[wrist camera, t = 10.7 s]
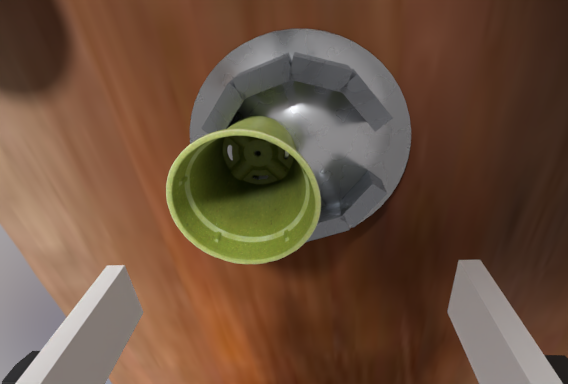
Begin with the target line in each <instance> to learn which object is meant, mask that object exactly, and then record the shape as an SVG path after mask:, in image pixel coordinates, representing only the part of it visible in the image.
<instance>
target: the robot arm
mask: <svg viewBox="0 0 568 384" xmlns="http://www.w3.org/2000/svg"><path fill="white" fill-rule="evenodd" d="M447 312H448V315H449V317H450V319H451V321H452V324H453V326H454V328H455V330H456V333H457V335H458V337H459V339H460V342H461V344H462V346H463V348H464V351H465V353H466V355H467V357H468V359H469V362H470V364H471V366H472V368H473V371H474V373H475V375H476V377H477V380H478V382H479V384H568V358H567V357H565V356H562V355H544V354H543V353H542V351H541V350H540V348H539V347H538V345H537V344H536V342H535V341H534V339H533V338H532V336H531V335H530V333H529V332H528V330H527V329H526V327H525V326H524V324H523V323H522V321H521V320H520V318H519V317H518V315H517V314H516V312H515V311H514V309H513V308H512V306H511V305H510V303H509V302H508V300H507V299H506V297H505V296H504V294H503V293H502V291H501V290H500V288H499V287H498V285H497V284H496V282H495V281H494V279H493V278H492V276H491V275H490V273H489V272H488V270H487V269H486V267H485V266H484V264H483V263H482V261H481V260H459V261H458V265H457V270H456V274H455V279H454V283H453V288H452V293H451V297H450V302H449V306H448V311H447ZM142 314H143V310H142V307H141V305H140V302H139V300H138V297H137V295H136V292H135V290H134V287H133V285H132V282H131V280H130V277H129V275H128V272H127V270H126V267H125V265H112V266H106V268H105V269H104V270H103V272H102V273H101V274H100V275H99V277H98V278H97V279H96V281H95V282H94V283H93V284H92V286H91V287H90V288H89V290H88V291H87V292H86V293H85V295H84V296H83V297H82V299H81V300H80V301H79V302H78V304H77V305H76V306H75V308H74V309H73V310H72V311H71V313H70V314H69V315H68V317H67V318H66V319H65V320H64V322H63V323H62V324H61V326H60V327H59V328H58V329H57V331H56V332H55V333H54V335H53V336H52V337H51V338H50V340H49V341H48V342H47V344H46V345H45V346H44V347H43V349H42V350H41V351H32V352H31V353H29V354H28V355H27V356H26V357H25V358H23V359H22V360H21V361H20V362H19V363H17V364H16V365H15V366H14V367H13V369H12V370H11V371H10V372H9V373H8V375H7V376H6V377H5V378H4V380H3V381H2V384H105V383H106V381H107V379H108V377H109V375H110V373H111V371H112V370H113V368H114V366H115V364H116V362H117V360H118V359H119V357H120V355H121V353H122V351H123V349H124V347H125V346H126V344H127V342H128V340H129V338H130V336H131V335H132V333H133V331H134V329H135V327H136V325H137V323H138V322H139V320H140V318H141V316H142Z"/></svg>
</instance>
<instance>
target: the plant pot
mask: <svg viewBox="0 0 568 384" xmlns="http://www.w3.org/2000/svg"><path fill="white" fill-rule="evenodd" d="M229 145H231V146H232V156H233V157H232V159H233V160H231V159H230V158H229V155H228V152H227V149H228V146H229ZM255 151H260V152H261V155H260V156H256V155H255ZM285 151H286V152H288V153H289V156H288V158H287V159H285V158H284V156H285ZM254 175H256V176H266V175H268V178H267V179H260V180H257V179H254V178H253V176H254ZM166 198H167V204H168V207H169V210H170V213H171V216H172V218H173V220H174V222H175V224H176V225H177V227H178V228H179V229H180V231H181V232H182V233H183V234H184V236H185V237H186V238H187V239H188V240H189V241H190V242H192V243H193V244H194V245H195V246H196V247H198V248H199V249H201V250H202V251H204V252H205V253H208V254H210V255H212V256H214V257H217V258H220V259H223V260H225V261H229V262H233V263H239V264H262V263H267V262H271V261H276V260H279V259H281V258H284V257H286V256H288V255H289V254H291V253H293V252H294V251H296V250H297V249H299V248H300V247H301V246H302V245H303V244H304V243H305V242H306V241H307V240H308V239H309V238H310V236H311V235H312V233H313V232H314V230H315V228H316V226H317V224H318V220H319V217H320V212H321V195H320V190H319V186H318V183H317V180H316V177H315V175H314V173H313V171H312V169H311V167H310V166H309V164H308V163H307V161H306V160H305V159H304V158H303V156H302V155H301V154H300V153H299V152H298V151H297V150H296V147H295V144H294V141H293V139H292V137H291V135H290V133H289V132H288V131H287V130H286V129H285V128H284V127H283V126H282V125H281V124H279V123H278V122H277V121H275V120H273V119H271V118H268V117H264V116H249V117H245V118H242V119H240V120H238V121H236V122H235V123H233V124H232V125H231V126H230V127H229V128H227V129H224V130H220V131H216V132H212V133H210V134H207V135H205V136H203V137H201V138H199V139H197V140H195V141H194V142H193V143H191V144H190V145H189V146H188V147H186V148H185V149H184V150H183V151H182V152H181V153H180V155H179V156H178V157H177V159H176V160H175V161H174V163H173V165H172V167H171V169H170V171H169V174H168V178H167V184H166Z"/></svg>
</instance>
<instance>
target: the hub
mask: <svg viewBox="0 0 568 384" xmlns="http://www.w3.org/2000/svg"><path fill="white" fill-rule="evenodd" d="M249 116H264V117H268V118H271V119H273V120H275V121H277V122H278V123H279V124H281V125H282V126H283V127H284V128H285V129H286V130H287V131H288V132H289V133H290V135H291V137H292V139H293V141H294V144H295V147H296V150H297V151H298V152H299V153H300V154H301V155H302V156H303V158H304V159H305V160H306V161H307V163H308V164H309V166H310V167H311V169H312V171H313V173H314V175H315V177H316V180H317V183H318V186H319V190H320V195H321V212H320V217H319V220H318V224H317V226H316V228H315V230H314V232H313V233H312V235H311V236H310V238H309V239H308V240H307V241H306V242H308V241H312V240H315V239H319V238H323V237H326V236H330V235H334V234H337V233H341V232H345V231H348V230H350V229H349V228H352V227H355V226H356V225H357V224H359V223H360V222H362V221H364V220H365V219H366V218H368V217H369V216H371V215H372V214H373V213H374V212H375V211H376V210H378V209H379V208H380V207H381V206H382V205H383V204H384V203H385V201H386V200H387V199H388V198H389V197H390V195H391V194H392V192H393V191H394V189H395V188H396V186H397V185H398V183H399V181H400V179H401V177H402V175H403V173H404V170H405V167H406V164H407V161H408V157H409V151H410V145H411V126H410V117H409V112H408V109H407V105H406V101H405V99H404V97H403V94H402V92H401V90H400V87H399V86H398V84H397V83H396V81H395V79H394V78H393V76H392V75H391V73H390V72H389V71H388V70H387V69H386V67H385V66H384V65H383V64H382V63H381V62H380V61H379V60H378V59H377V58H376V57H375V56H373V55H372V54H371V53H370V52H369V51H367V50H366V49H364V48H363V47H361V46H360V45H358V44H356V43H355V42H353V41H351V40H349V39H347V38H344V37H342V36H340V35H337V34H334V33H330V32H327V31H323V30H315V29H308V28H302V29H286V30H279V31H274V32H271V33H268V34H264V35H261V36H259V37H256V38H254V39H252V40H250V41H248V42H246V43H244V44H242V45H241V46H239V47H238V48H236V49H235V50H233V51H232V52H230V53H229V54H228V55H227V56H226V57H225V58H224V59H223V60H221V61H220V62H219V63H218V64H217V66H216V67H215V68H214V69H213V70H212V72H211V73H210V74H209V75H208V77H207V79H206V80H205V82H204V83H203V85H202V87H201V89H200V91H199V93H198V96H197V98H196V100H195V104H194V108H193V111H192V115H191V123H190V144H191V143H193V142H194V141H195V140H197V139H199V138H201V137H203V136H205V135H207V134H210V133H212V132H216V131H220V130H224V129H227V128H229V127H230V126H231V125H232V124H233V123H235V122H236V121H238V120H240V119H242V118H245V117H249ZM227 152H228V155H229V158H230V159H231V160H233V159H232V157H233V156H232V146H231V145H229V146H228V149H227ZM255 155H256V156H260V155H261V152H260V151H255ZM288 156H289V153H288V152H286V151H285V156H284V158H285V159H287V158H288ZM253 178H254V179H257V180H260V179H267V178H268V175H266V176H256V175H254V176H253Z"/></svg>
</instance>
